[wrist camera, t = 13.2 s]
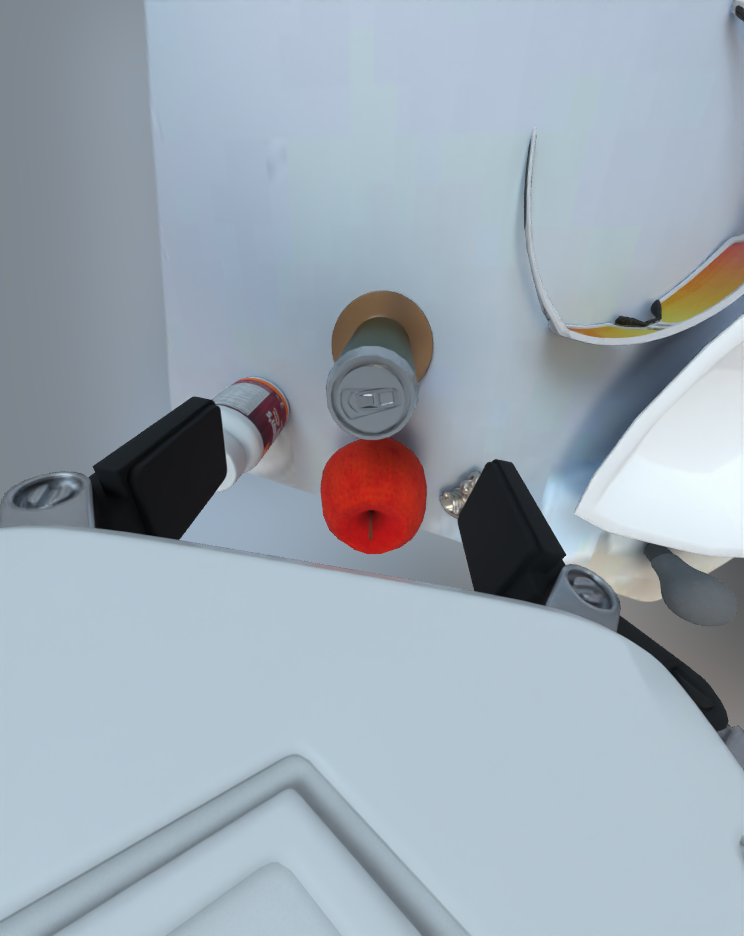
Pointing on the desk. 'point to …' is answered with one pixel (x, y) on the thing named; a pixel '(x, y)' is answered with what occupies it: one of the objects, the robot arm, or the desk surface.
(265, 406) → the pill bottle
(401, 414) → the beer can
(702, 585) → the light bulb
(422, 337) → the coaster
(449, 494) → the ornament
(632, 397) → the desk surface
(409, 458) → the apple
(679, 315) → the sunglasses
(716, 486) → the bowl
